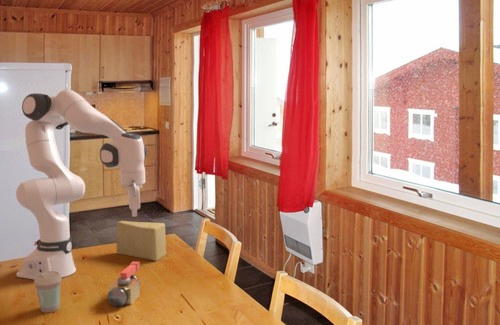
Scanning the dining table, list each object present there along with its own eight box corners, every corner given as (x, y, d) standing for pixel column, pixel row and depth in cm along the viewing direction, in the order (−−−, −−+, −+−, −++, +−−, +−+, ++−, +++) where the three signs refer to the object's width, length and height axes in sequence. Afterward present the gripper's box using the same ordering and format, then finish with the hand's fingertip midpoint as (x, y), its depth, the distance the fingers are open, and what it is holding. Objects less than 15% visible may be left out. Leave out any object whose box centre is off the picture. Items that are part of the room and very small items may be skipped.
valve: (106, 306, 170) (105, 288, 169) (121, 290, 183) (120, 274, 182) (128, 308, 169) (127, 289, 168) (142, 292, 182) (141, 275, 181)
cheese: (111, 256, 220) (109, 223, 217) (123, 249, 229) (122, 218, 226) (156, 262, 213) (155, 228, 210) (167, 254, 222) (165, 222, 220)
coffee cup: (41, 303, 172) (38, 270, 171) (66, 302, 173) (64, 269, 171) (32, 315, 164) (29, 280, 162) (59, 314, 165) (56, 279, 163)
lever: (127, 285, 172) (126, 275, 172) (115, 284, 173) (114, 274, 173) (142, 271, 185) (141, 261, 185) (131, 270, 186) (130, 261, 185)
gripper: (143, 183, 171) (144, 222, 173) (140, 173, 190) (142, 208, 193) (124, 184, 169) (126, 223, 171) (123, 174, 189) (125, 209, 191)
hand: (134, 215), depth 182 cm, fingers closed
